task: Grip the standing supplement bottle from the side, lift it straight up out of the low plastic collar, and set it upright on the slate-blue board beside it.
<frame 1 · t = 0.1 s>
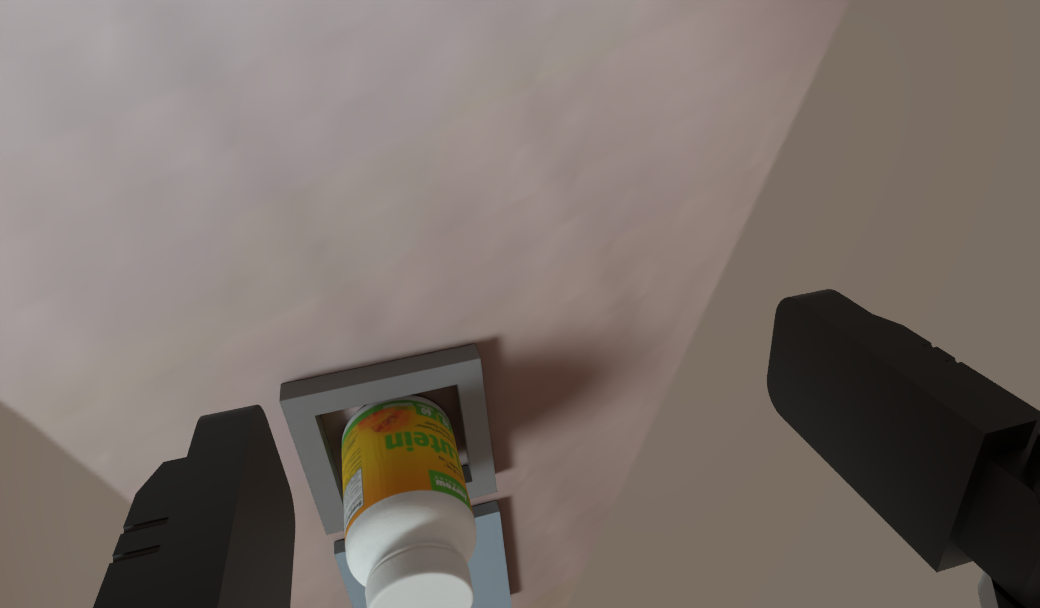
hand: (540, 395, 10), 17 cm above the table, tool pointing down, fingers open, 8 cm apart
supplement bottle: (396, 431, 32), resting in collar
collar: (397, 434, 32), on the table
board: (428, 571, 38), on the table
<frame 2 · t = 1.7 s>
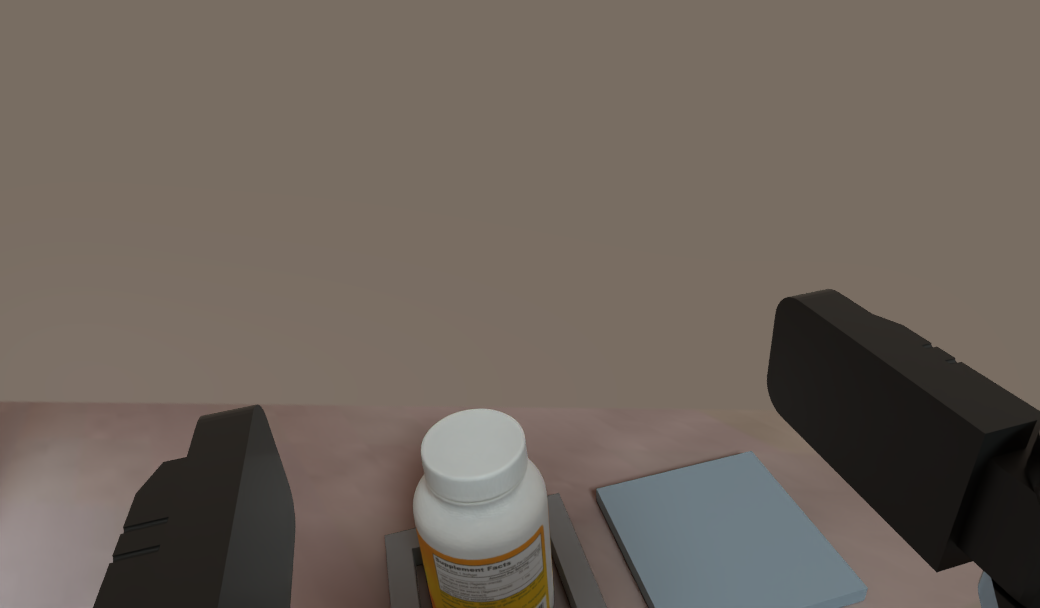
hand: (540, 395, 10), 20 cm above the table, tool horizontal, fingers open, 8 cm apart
collar: (495, 605, 29), on the table
board: (717, 545, 31), on the table
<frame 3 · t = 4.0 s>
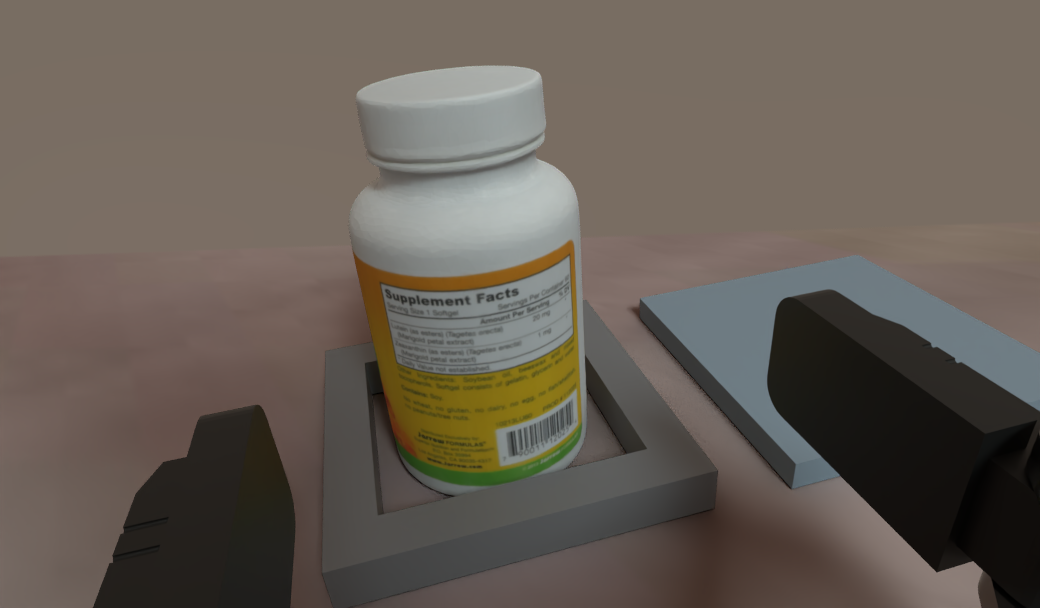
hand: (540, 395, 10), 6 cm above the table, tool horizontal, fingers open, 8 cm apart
supplement bottle: (493, 440, 18), resting in collar
collar: (492, 434, 18), on the table
board: (830, 356, 20), on the table
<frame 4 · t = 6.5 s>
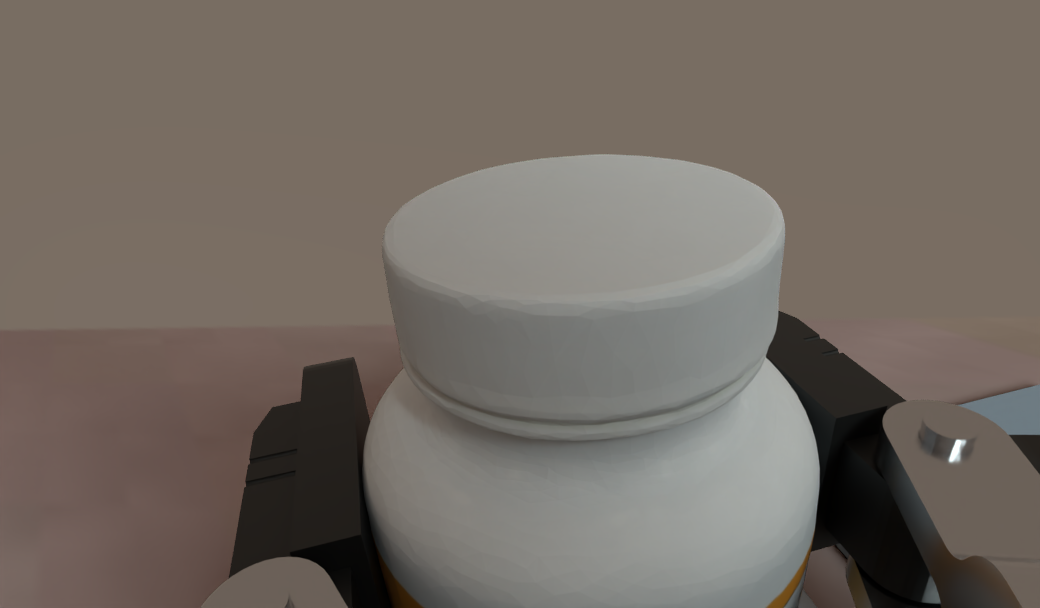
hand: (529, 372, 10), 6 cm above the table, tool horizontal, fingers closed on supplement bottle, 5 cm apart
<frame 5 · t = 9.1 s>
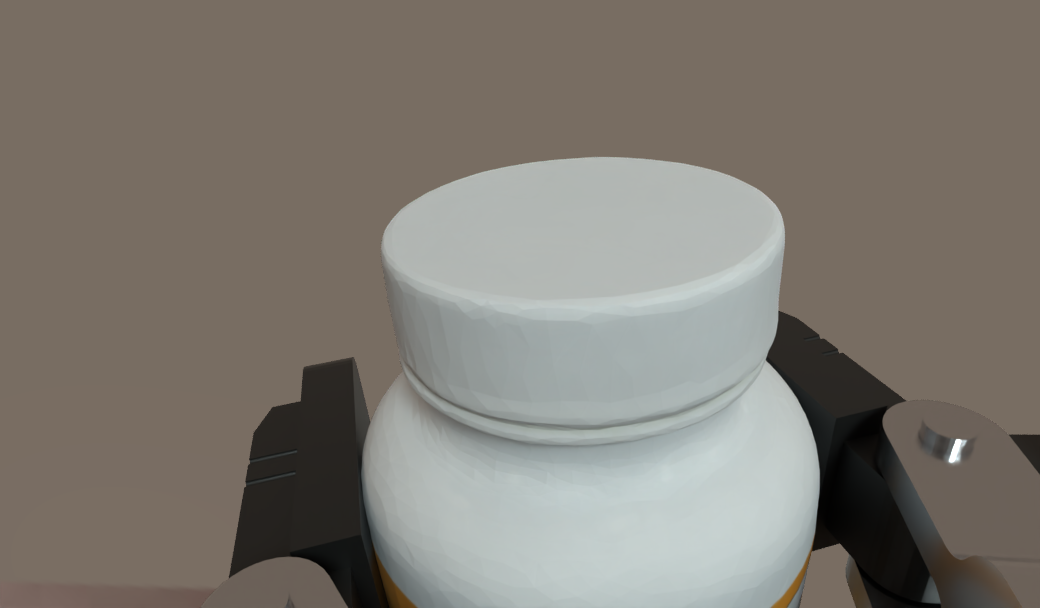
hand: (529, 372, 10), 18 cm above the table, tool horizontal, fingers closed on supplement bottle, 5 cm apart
when the fingers open (8 cm above the table, at t = 12.0 s): supplement bottle stays where it is, resting on board.
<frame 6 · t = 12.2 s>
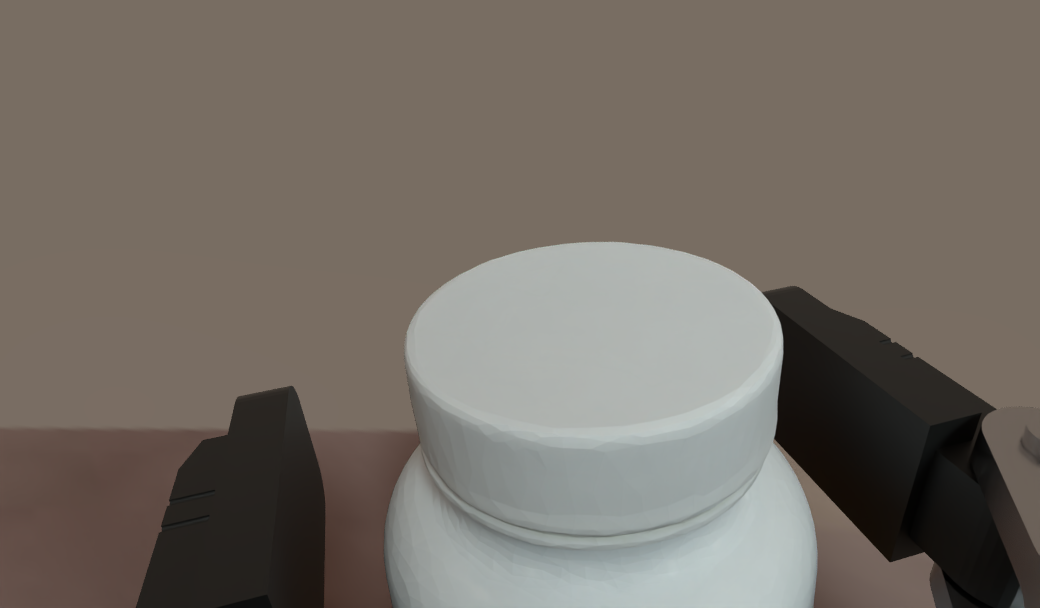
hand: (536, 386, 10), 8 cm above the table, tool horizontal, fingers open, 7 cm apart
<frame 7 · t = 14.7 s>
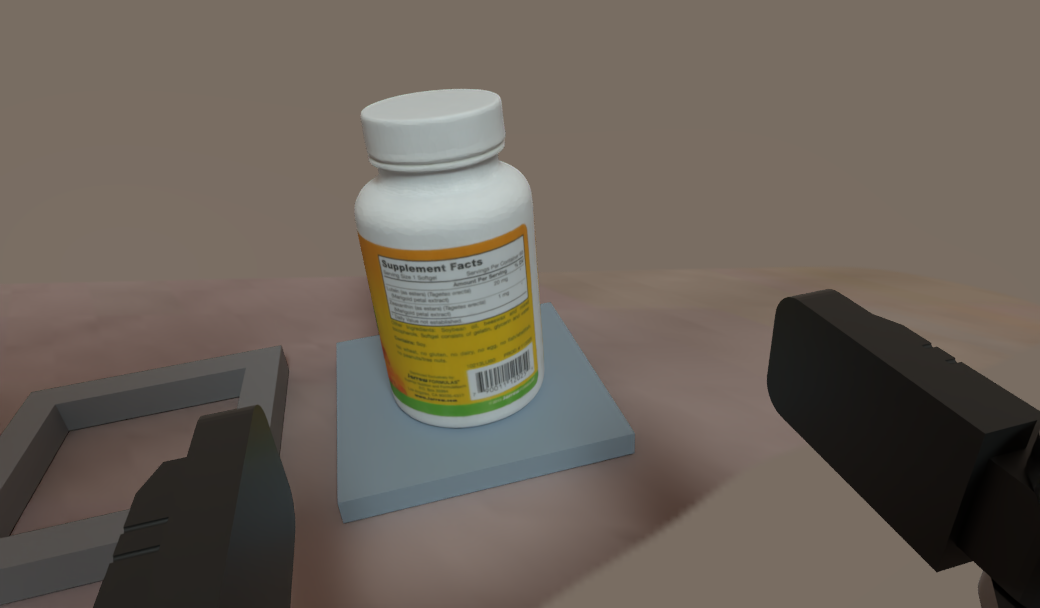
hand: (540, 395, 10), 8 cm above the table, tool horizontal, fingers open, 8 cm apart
supplement bottle: (470, 388, 23), point 1 cm above the table, touching board
collar: (141, 470, 21), on the table
board: (468, 400, 23), on the table
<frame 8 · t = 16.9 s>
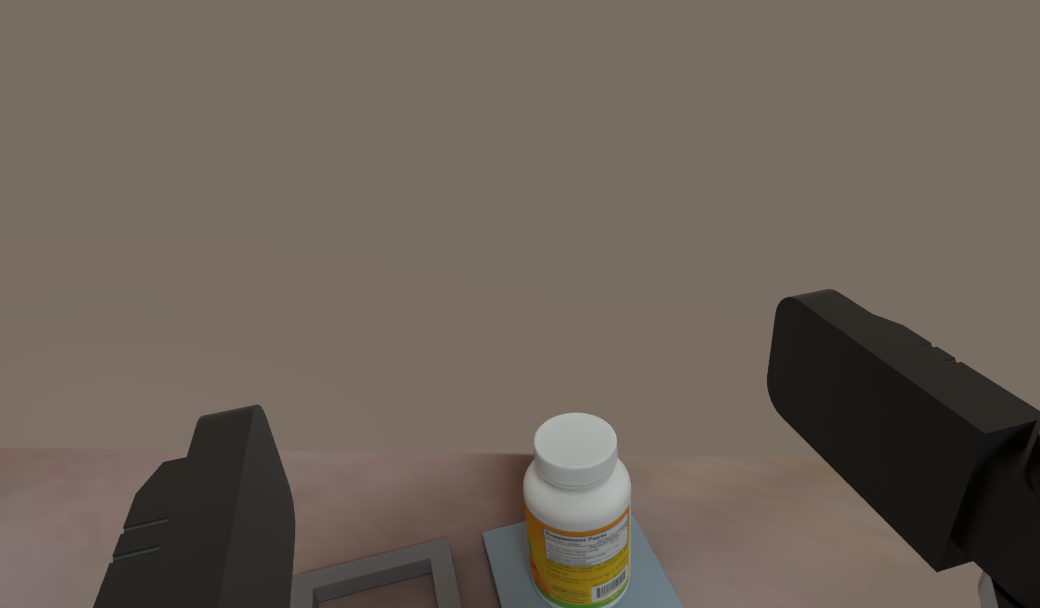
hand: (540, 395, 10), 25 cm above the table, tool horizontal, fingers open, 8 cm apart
supplement bottle: (580, 577, 35), point 1 cm above the table, touching board
board: (578, 582, 36), on the table
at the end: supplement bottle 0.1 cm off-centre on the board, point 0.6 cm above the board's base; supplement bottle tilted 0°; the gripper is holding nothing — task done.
